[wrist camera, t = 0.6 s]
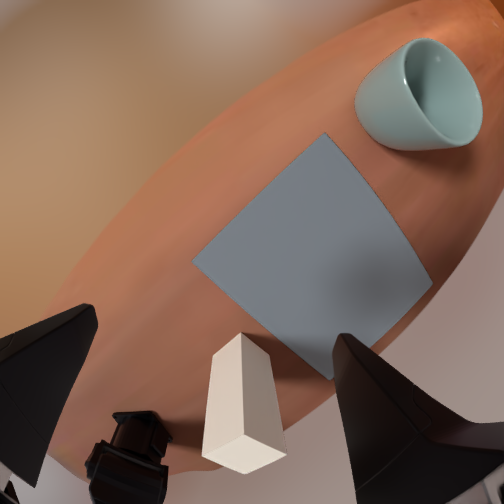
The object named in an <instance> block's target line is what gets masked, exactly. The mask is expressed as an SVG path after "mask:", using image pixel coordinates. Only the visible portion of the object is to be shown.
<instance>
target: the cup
mask: <svg viewBox="0 0 504 504" xmlns="http://www.w3.org/2000/svg"><path fill="white" fill-rule="evenodd" d="M354 108H355V113H356V116H357V118H358V120H359V122H360V124H361V125H362V127H363V128H364V130H365V131H366V132H367V133H368V134H369V135H370V136H371V137H372V138H373V139H374V140H375V141H377V142H378V143H380V144H382V145H384V146H386V147H388V148H392V149H395V150H401V151H425V150H438V149H449V148H457V147H461V146H464V145H467V144H469V143H470V142H471V141H473V140H474V138H475V137H476V136H477V134H478V132H479V130H480V128H481V124H482V118H483V108H482V101H481V97H480V94H479V91H478V88H477V86H476V84H475V82H474V80H473V78H472V76H471V74H470V73H469V71H468V70H467V68H466V67H465V65H464V64H463V63H462V62H461V60H460V59H459V58H458V57H457V56H456V55H455V54H454V53H453V52H452V51H451V50H450V49H449V48H447V47H446V46H445V45H443V44H441V43H440V42H438V41H436V40H433V39H429V38H418V39H414V40H411V41H409V42H408V43H406V44H405V45H403V46H401V47H400V48H398V49H397V50H395V51H394V52H393V53H391V54H390V55H389V56H387V57H386V58H385V59H383V60H382V61H381V62H380V63H378V64H377V65H376V66H375V67H374V68H373V69H372V70H371V71H370V72H369V73H368V74H367V75H366V76H365V77H364V79H363V80H362V81H361V83H360V85H359V87H358V89H357V91H356V94H355V98H354Z"/></svg>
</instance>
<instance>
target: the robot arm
mask: <svg viewBox="0 0 504 504" xmlns="http://www.w3.org/2000/svg"><path fill="white" fill-rule="evenodd" d="M97 329H98V321H97V316H96V312H95V308H94V306H93V305H91V304H86V303H83V304H81V305H78V306H76V307H73V308H71V309H69V310H66V311H64V312H61V313H59V314H57V315H54V316H52V317H50V318H47V319H45V320H43V321H40V322H38V323H35V324H33V325H31V326H28V327H26V328H24V329H22V330H19V331H17V332H15V333H13V334H10V335H8V336H5V337H3V338H0V504H20V503H19V500H18V498H17V495H16V492H15V489H14V487H13V484H12V482H11V481H10V480H9V478H10V476H11V474H12V473H13V474H15V475H16V476H17V477H19V478H20V479H22V480H23V481H25V482H26V483H27V484H29V485H30V486H32V487H33V488H35V487H36V484H37V480H38V477H39V474H40V470H41V467H42V464H43V460H44V458H45V455H46V452H47V449H48V446H49V443H50V440H51V438H52V435H53V432H54V430H55V427H56V425H57V422H58V420H59V417H60V415H61V412H62V410H63V407H64V405H65V403H66V400H67V398H68V396H69V394H70V391H71V389H72V387H73V385H74V383H75V380H76V378H77V376H78V374H79V372H80V370H81V368H82V366H83V364H84V362H85V359H86V357H87V355H88V352H89V349H90V347H91V344H92V341H93V339H94V336H95V334H96V331H97ZM332 361H333V370H334V379H335V388H336V394H337V399H338V404H339V408H340V413H341V417H342V422H343V427H344V432H345V437H346V442H347V447H348V452H349V458H350V463H351V469H352V475H353V480H354V486H355V491H356V492H355V493H356V500H357V504H504V422H496V423H474V422H470V421H468V420H466V419H464V418H463V417H461V416H460V415H458V414H456V413H455V412H453V411H452V410H450V409H449V408H447V407H446V406H444V405H443V404H441V403H440V402H438V401H436V400H435V399H433V398H432V397H431V396H429V395H428V394H427V393H425V392H424V391H423V390H421V389H420V388H419V387H418V386H416V385H414V383H412V382H411V381H410V380H409V379H407V378H406V377H405V376H404V375H402V374H401V373H400V372H399V371H397V370H396V369H395V368H394V367H392V366H391V365H390V364H389V363H387V362H386V361H385V360H383V359H382V358H381V357H380V356H378V355H377V354H376V353H375V352H373V351H372V350H371V349H370V348H368V347H367V346H366V345H365V344H363V343H362V342H361V341H359V340H358V339H357V338H356V337H354V336H353V335H352V334H351V333H339V334H338V336H337V339H336V342H335V345H334V347H333V350H332ZM112 417H113V418H114V419H115V421H116V422H117V423H118V425H117V427H116V430H115V432H114V435H113V437H112V440H111V442H110V444H109V443H107V442H106V441H105V440H101V442H100V443H96V444H95V446H94V448H93V451H92V453H91V454H90V456H89V457H88V459H87V460H86V462H85V467H86V469H87V479H89V480H91V482H90V485H89V493H90V498H91V501H92V504H163V502H164V499H165V496H166V491H167V481H168V468H169V466H166V465H161V464H160V463H161V458H163V457H164V456H165V453H166V448H167V443H170V442H172V440H173V439H172V437H171V436H170V435H169V434H168V432H167V431H166V430H165V429H164V427H163V426H162V425H161V424H160V422H159V421H158V420H157V418H156V417H155V416H154V414H153V413H152V412H150V411H143V412H125V413H113V415H112Z"/></svg>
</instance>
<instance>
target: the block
mask: <svg viewBox="0 0 504 504" xmlns="http://www.w3.org/2000/svg"><path fill="white" fill-rule="evenodd" d="M285 455H287V450H286V445H285V439H284V434H283V428H282V423H281V417H280V412H279V406H278V401H277V395H276V390H275V384H274V379H273V373H272V368H271V362H270V356H269V354H267V353H266V352H265V351H263V350H262V349H261V348H260V347H258V346H257V345H256V344H255V343H253V342H252V341H251V340H250V339H249V338H247V337H246V336H245V335H244V334H242V333H239V334H238V335H237V336H236V337H235V338H233V339H232V340H231V341H230V342H229V343H228V344H226V345H225V346H224V347H223V348H222V349H220V350H219V351H218V352H217V353H215V354H214V355H213V359H212V367H211V376H210V384H209V392H208V401H207V410H206V419H205V428H204V438H203V448H202V456H203V457H205V458H207V459H209V460H211V461H214V462H216V463H218V464H220V465H223V466H225V467H228V468H230V469H232V470H235V471H238V472H240V473H243V474H247V473H249V472H252V471H254V470H256V469H258V468H260V467H263V466H265V465H267V464H269V463H271V462H273V461H275V460H277V459H280V458H281V457H283V456H285Z"/></svg>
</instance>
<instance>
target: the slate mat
mask: <svg viewBox="0 0 504 504" xmlns="http://www.w3.org/2000/svg"><path fill="white" fill-rule="evenodd" d="M191 262H192V263H193V264H194V265H196V266H197V267H198V268H199V269H200V270H201V271H202V272H203V273H204V274H205V275H206V276H207V277H208V278H210V279H211V280H212V281H213V282H214V283H215V284H216V285H217V286H218V287H219V288H220V289H222V290H223V291H224V292H225V293H226V294H227V295H228V296H229V297H230V298H232V299H233V300H234V301H235V302H236V303H237V304H238V305H239V306H241V307H242V308H243V309H244V310H245V311H246V312H247V313H249V314H250V315H251V316H252V317H253V318H254V319H255V320H257V321H258V322H259V323H260V324H261V325H262V326H264V327H265V328H266V329H267V330H268V331H269V332H271V333H272V334H273V335H274V336H275V337H277V338H278V339H279V340H280V341H281V342H283V343H284V344H285V345H286V346H287V347H289V348H290V349H291V350H292V351H293V352H295V353H296V354H297V355H298V356H299V357H301V358H302V359H303V360H304V361H306V362H307V363H308V364H309V365H311V366H312V367H313V368H314V369H316V370H317V371H318V372H319V373H321V374H322V375H323V376H324V377H326V378H327V379H328V380H329V381H330V380H331V379H332V378H334V370H333V361H332V350H333V347H334V345H335V342H336V339H337V336H338V334H339V333H351V334H352V335H353V336H354V337H356V338H357V339H358V340H359V341H361V342H362V343H363V344H365V345H366V346H367V347H368V348H370V347H371V346H372V345H373V344H374V343H375V342H377V341H378V340H379V339H380V338H381V337H382V336H383V335H384V334H385V333H386V332H387V331H388V330H389V329H390V328H392V327H393V326H394V325H395V324H396V323H397V322H398V321H399V320H400V319H401V318H402V317H403V316H404V315H405V314H406V313H407V312H408V311H409V310H410V308H411V307H412V306H413V305H414V304H415V303H416V302H417V301H418V300H419V299H420V298H421V297H422V296H423V295H424V293H425V292H426V291H427V290H428V289H429V288H430V287H431V286H432V284H433V282H432V281H431V279H430V277H429V275H428V273H427V272H426V270H425V268H424V266H423V265H422V263H421V261H420V260H419V258H418V256H417V255H416V253H415V251H414V250H413V248H412V246H411V245H410V243H409V242H408V240H407V239H406V237H405V235H404V234H403V232H402V231H401V229H400V228H399V226H398V225H397V223H396V222H395V220H394V219H393V217H392V216H391V215H390V213H389V212H388V210H387V209H386V208H385V206H384V205H383V203H382V202H381V201H380V199H379V198H378V196H377V195H376V194H375V192H374V191H373V190H372V188H371V187H370V186H369V185H368V183H367V182H366V181H365V179H364V178H363V177H362V176H361V174H360V173H359V172H358V171H357V169H356V168H355V167H354V166H353V164H352V163H351V162H350V161H349V160H348V158H347V157H346V156H345V155H344V154H343V153H342V151H341V150H340V149H339V148H338V147H337V146H336V144H335V143H334V142H333V141H332V140H331V139H330V138H329V137H328V136H327V134H326V133H323V134H322V135H321V136H320V137H319V138H318V139H317V140H316V141H315V142H314V143H312V144H311V145H310V146H309V147H308V148H307V149H306V150H305V151H304V152H303V153H302V154H301V155H299V156H298V157H297V158H296V159H295V160H294V161H293V162H292V163H291V164H290V165H289V166H288V167H287V168H286V169H284V170H283V171H282V172H281V173H280V174H279V175H278V176H277V177H276V178H275V179H274V180H273V181H272V182H271V183H270V184H269V185H268V186H267V187H266V188H264V189H263V190H262V191H261V192H260V193H259V194H258V195H257V196H256V197H255V198H254V199H253V200H252V201H251V202H250V203H249V204H248V205H247V206H246V207H245V208H244V209H243V210H242V211H241V212H240V213H239V214H238V215H237V216H236V217H235V218H234V219H233V220H232V221H231V222H230V223H229V224H228V225H227V226H226V227H225V228H224V229H223V230H222V231H221V232H220V233H219V234H218V235H217V236H216V237H215V238H214V239H213V240H212V241H211V242H210V243H209V244H208V245H207V246H206V247H205V248H204V249H203V250H202V251H201V252H200V253H199V254H198V255H197V256H196V257H195V258H194V259H193V260H192V261H191Z"/></svg>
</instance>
